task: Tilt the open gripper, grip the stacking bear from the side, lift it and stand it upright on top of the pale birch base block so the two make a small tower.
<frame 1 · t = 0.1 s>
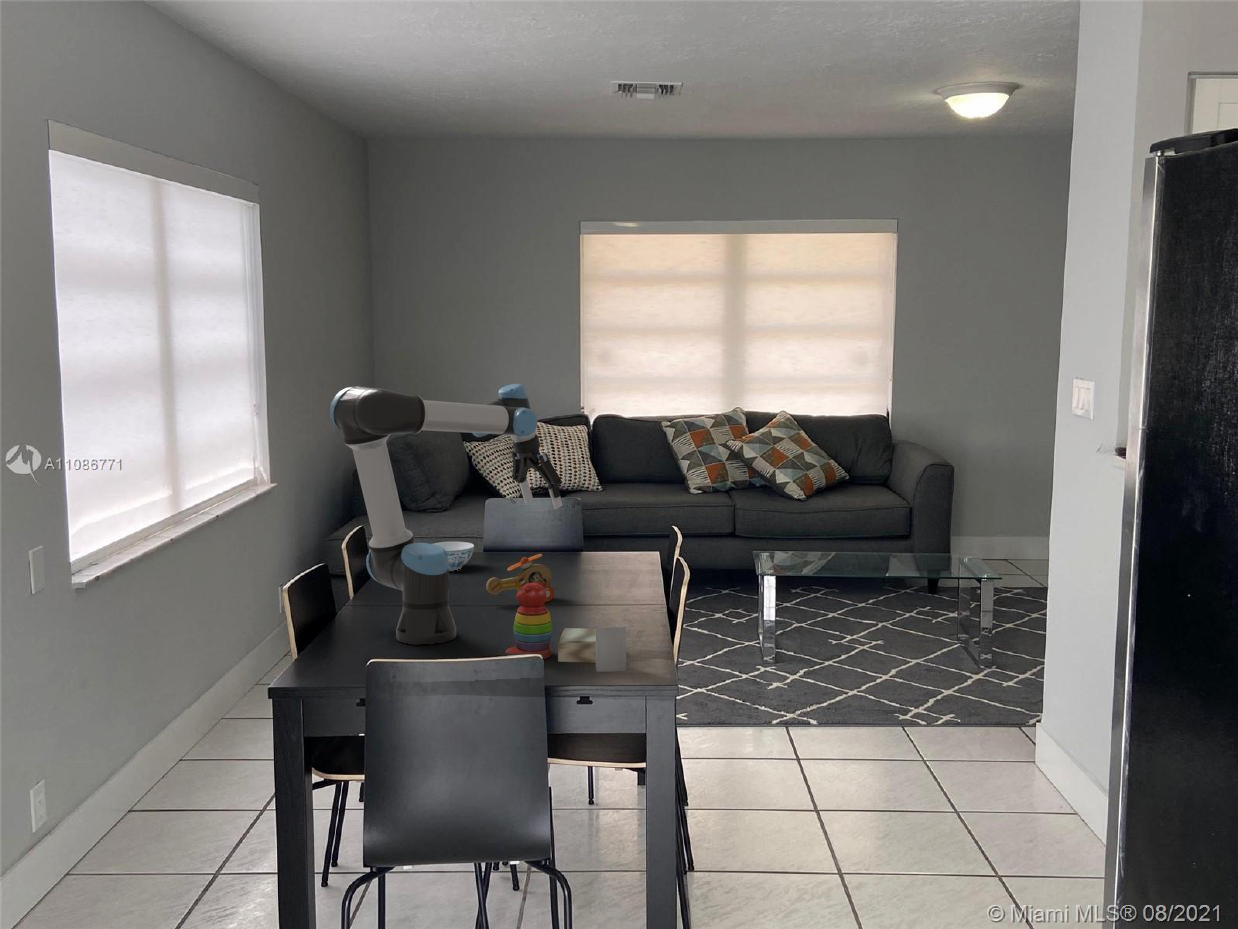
hand: (543, 504, 317), 28 cm above the table, tool tilted 20°, fingers open, 13 cm apart
white printed cardboard box: (610, 670, 253), on the table
toy helicopter: (522, 602, 315), on the table
base block: (585, 655, 263), on the table
stacking bear: (531, 655, 263), on the table
chinaware: (451, 569, 359), on the table
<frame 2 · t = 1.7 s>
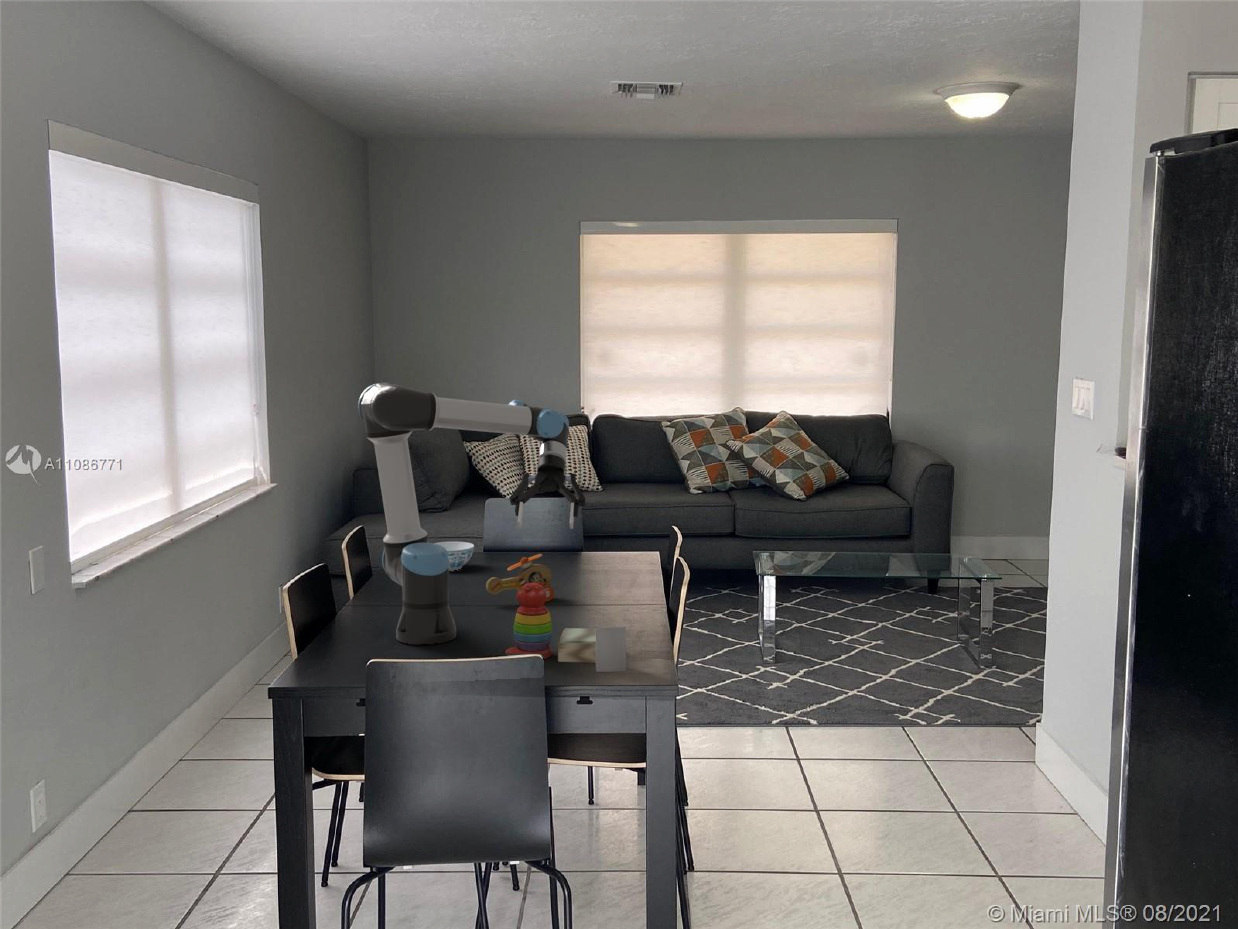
hand: (545, 525, 284), 27 cm above the table, tool tilted 45°, fingers open, 13 cm apart
nothing on the table moved.
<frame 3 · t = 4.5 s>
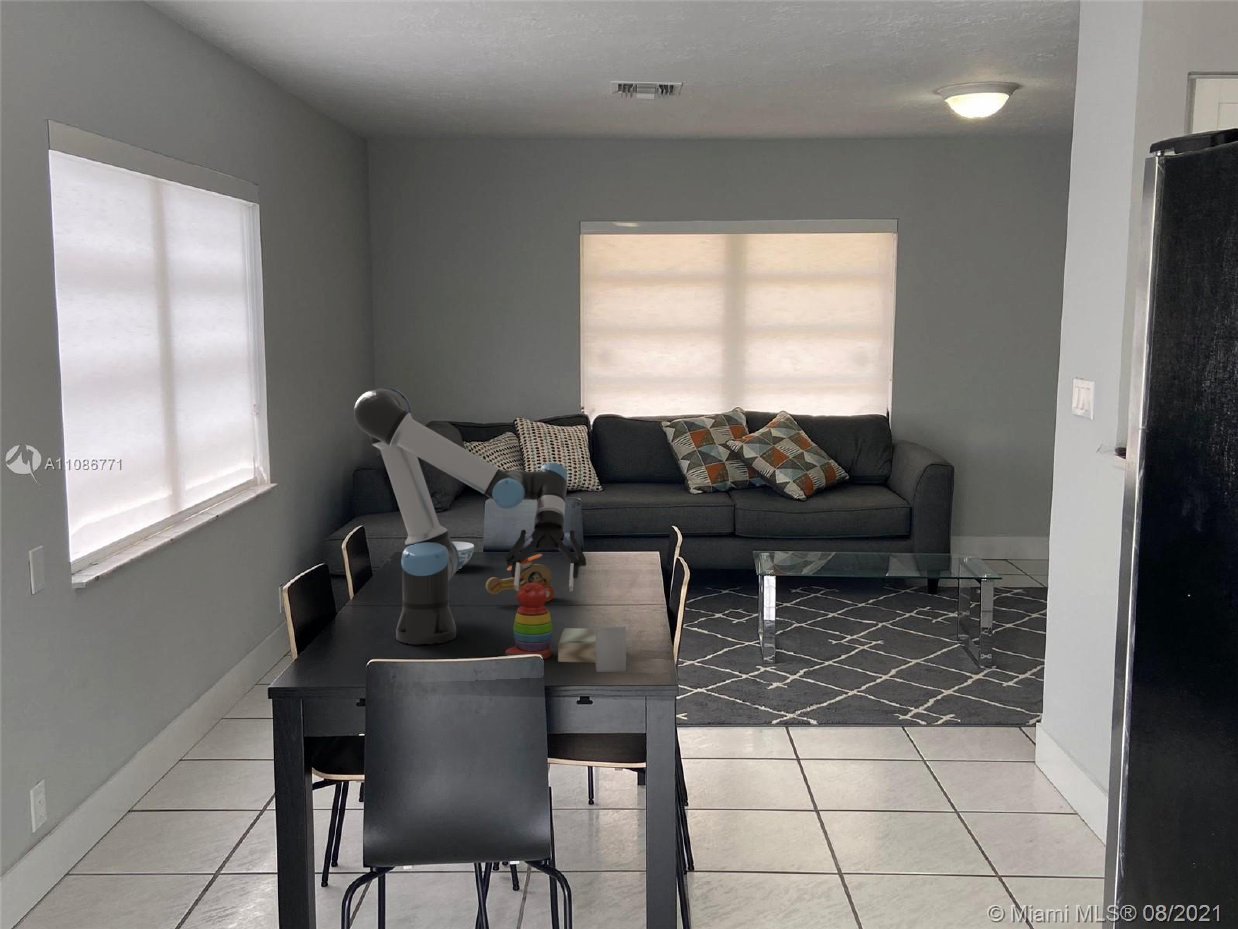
hand: (543, 588, 268), 15 cm above the table, tool tilted 45°, fingers open, 13 cm apart
nothing on the table moved.
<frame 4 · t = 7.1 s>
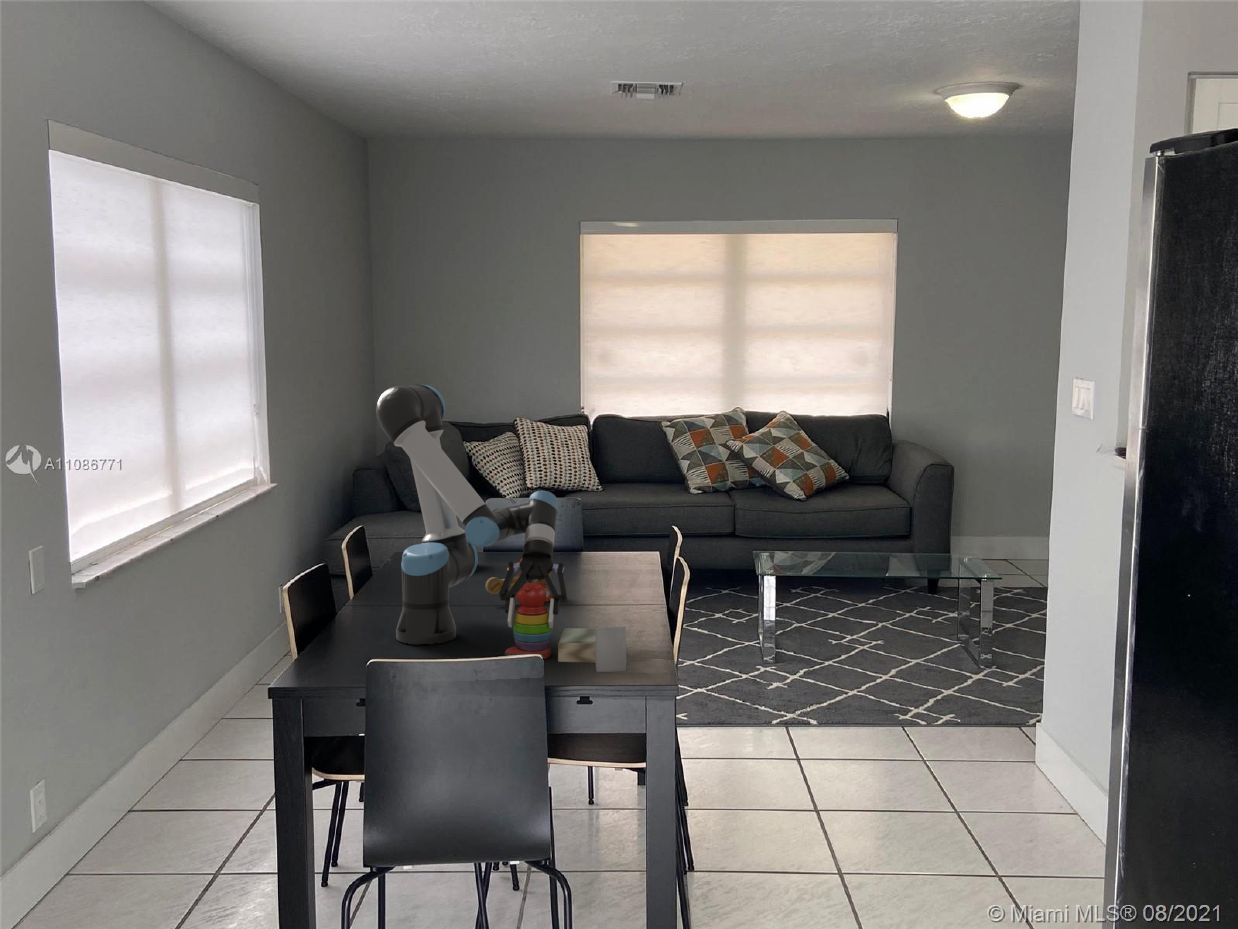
hand: (530, 624, 259), 8 cm above the table, tool tilted 45°, fingers open, 9 cm apart
stacking bear: (531, 655, 263), on the table, touching gripper
everything else where it was.
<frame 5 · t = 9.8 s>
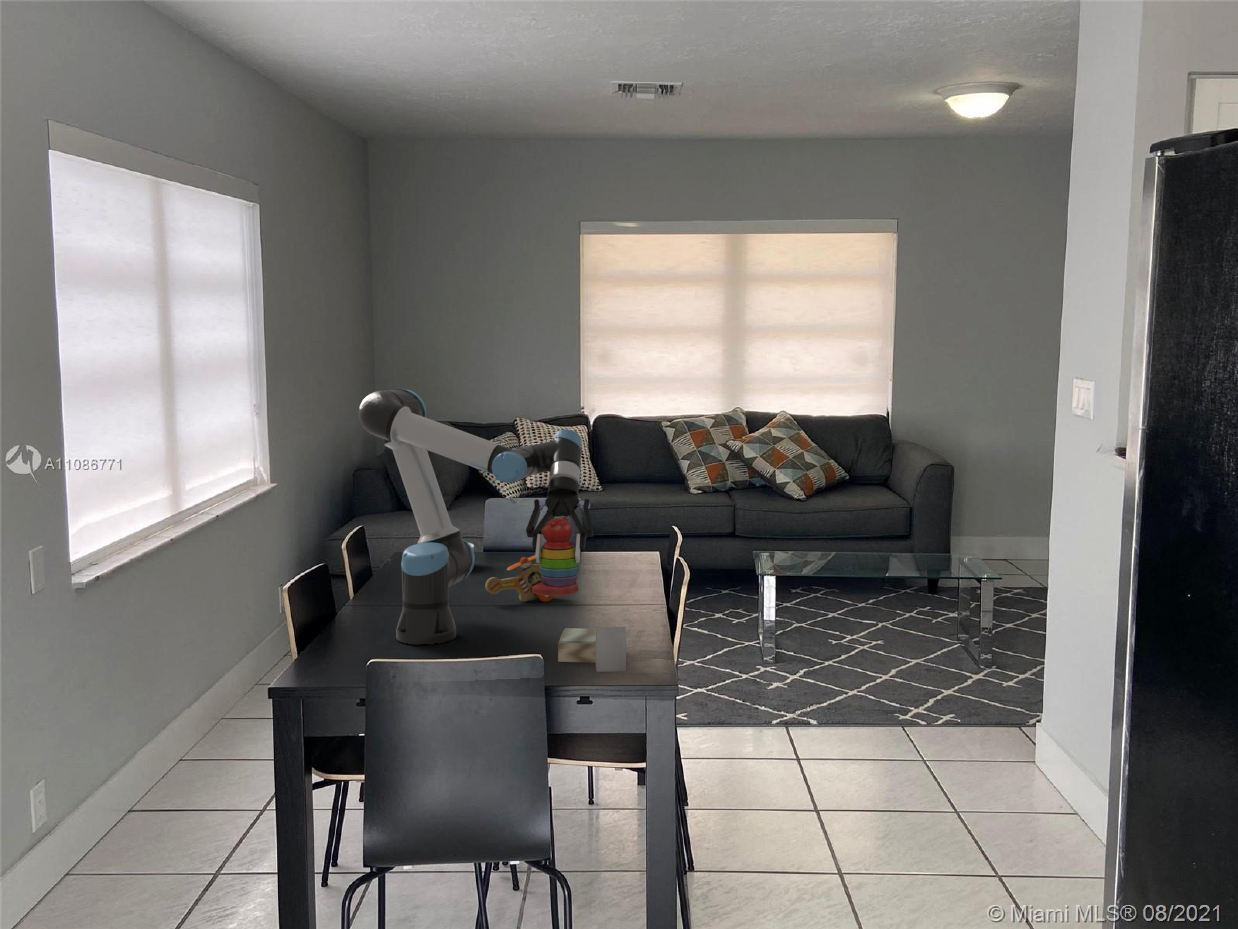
hand: (557, 559, 257), 24 cm above the table, tool tilted 45°, fingers closed on stacking bear, 9 cm apart
stacking bear: (558, 592, 261), point 16 cm above the table, touching gripper
everything else where it was.
when the fingers open (15 cm above the table, at t = 12.6 s): stacking bear drops 1 cm, resting on base block.
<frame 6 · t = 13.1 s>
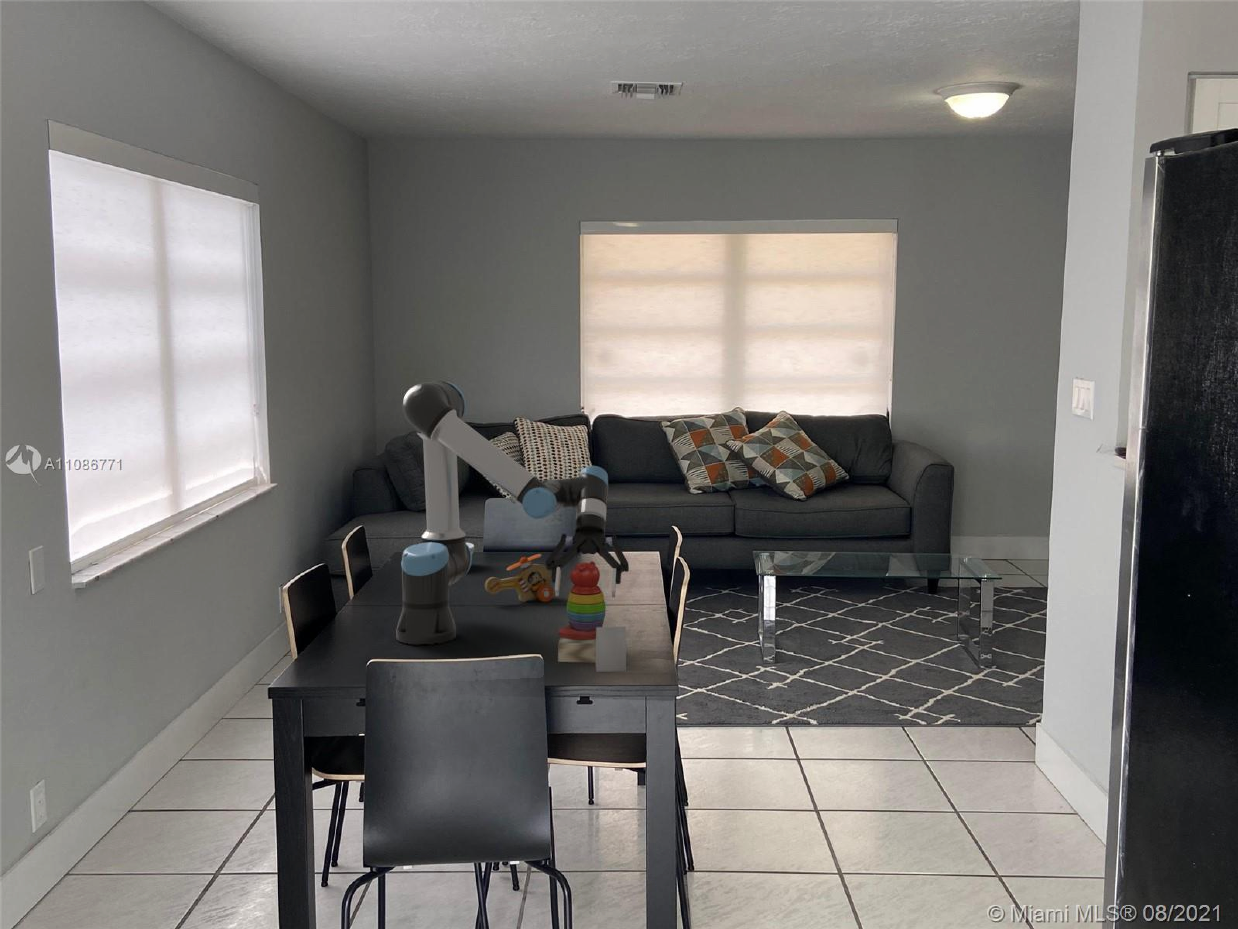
hand: (584, 594, 259), 16 cm above the table, tool tilted 45°, fingers open, 13 cm apart
stacking bear: (584, 635, 263), point 5 cm above the table, touching base block
everything else where it was.
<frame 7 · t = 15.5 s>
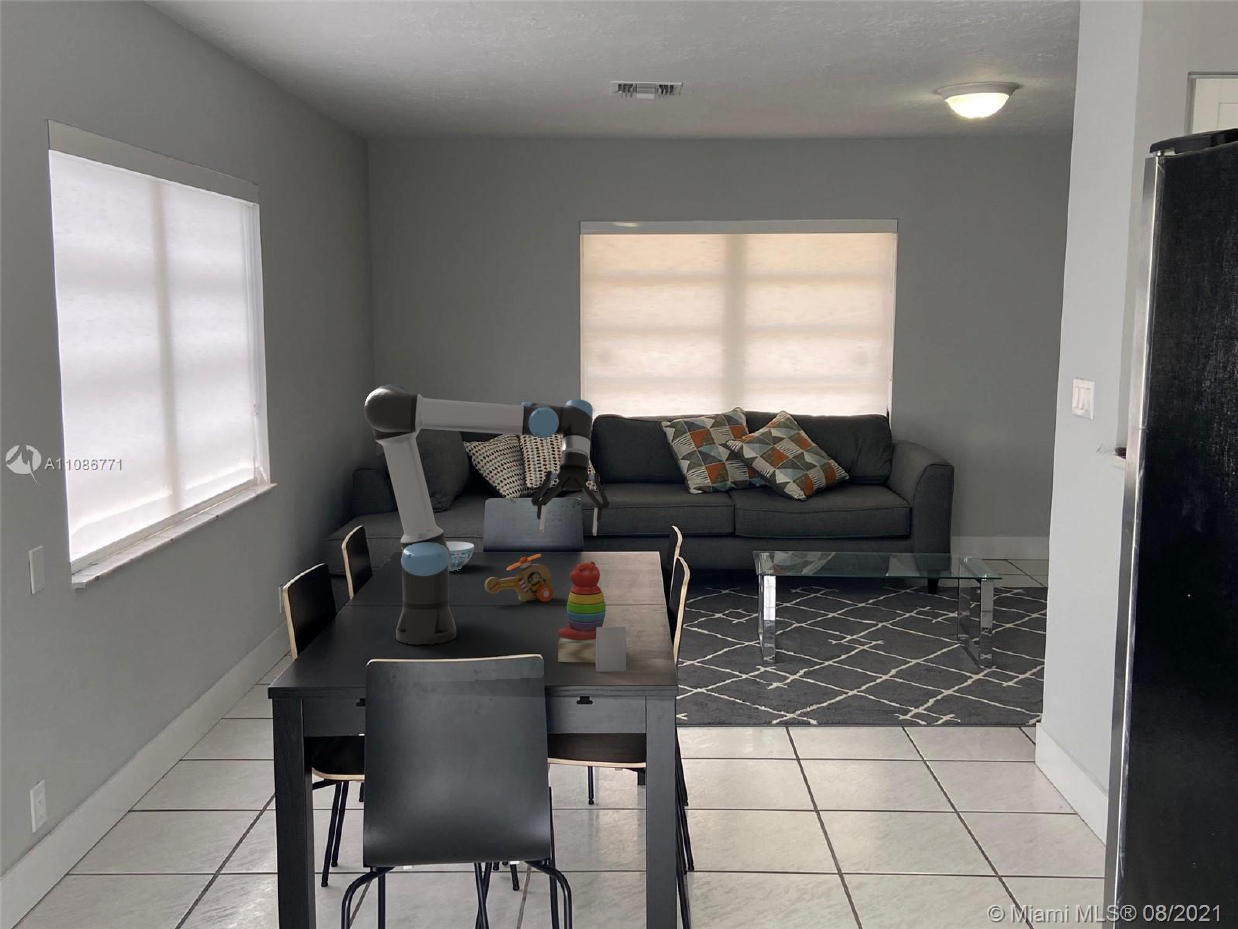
hand: (567, 532, 277), 27 cm above the table, tool tilted 30°, fingers open, 13 cm apart
nothing on the table moved.
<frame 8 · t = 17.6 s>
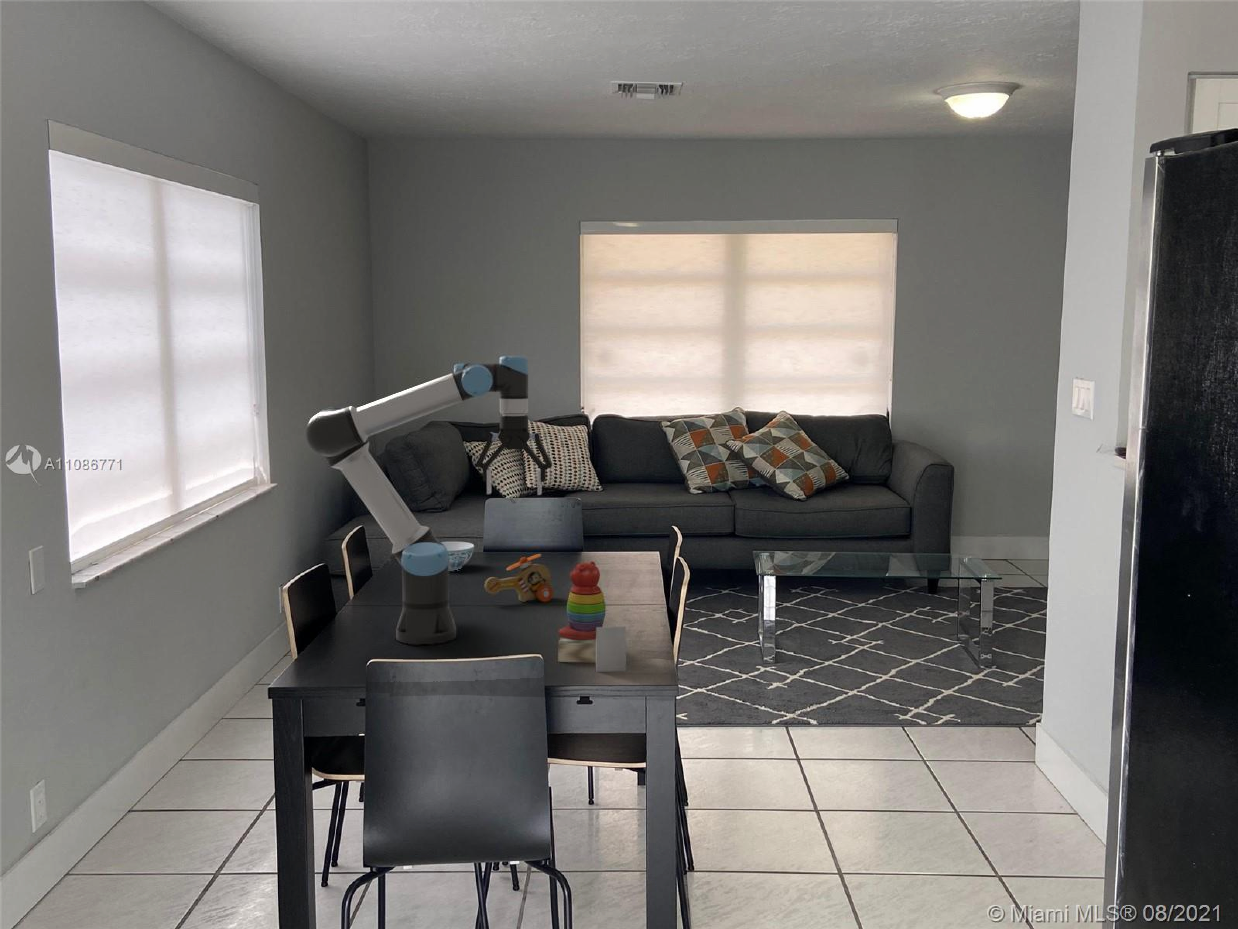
hand: (514, 494, 290), 35 cm above the table, tool pointing down, fingers open, 13 cm apart
nothing on the table moved.
at the end: stacking bear inside the target area on the base block (0.2 cm from its centre), point 4.8 cm above the base block's base; stacking bear tilted 0°; the gripper is holding nothing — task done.
